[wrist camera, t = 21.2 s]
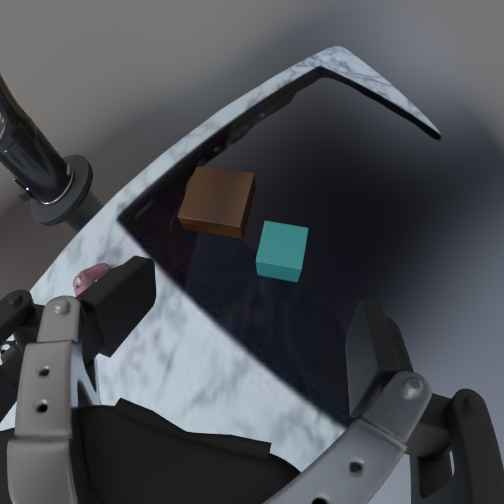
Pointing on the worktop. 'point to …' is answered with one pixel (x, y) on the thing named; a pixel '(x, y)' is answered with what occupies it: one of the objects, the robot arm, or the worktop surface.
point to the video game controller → (89, 277)
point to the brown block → (218, 202)
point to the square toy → (281, 251)
